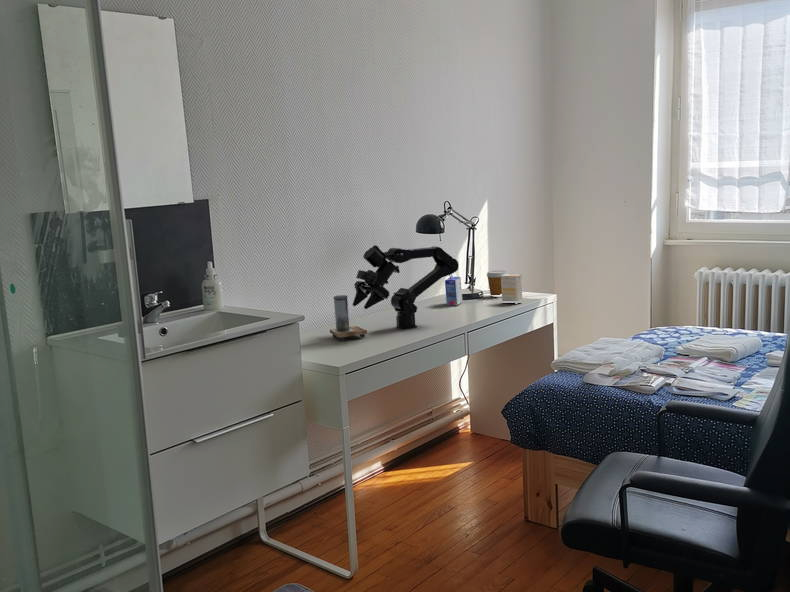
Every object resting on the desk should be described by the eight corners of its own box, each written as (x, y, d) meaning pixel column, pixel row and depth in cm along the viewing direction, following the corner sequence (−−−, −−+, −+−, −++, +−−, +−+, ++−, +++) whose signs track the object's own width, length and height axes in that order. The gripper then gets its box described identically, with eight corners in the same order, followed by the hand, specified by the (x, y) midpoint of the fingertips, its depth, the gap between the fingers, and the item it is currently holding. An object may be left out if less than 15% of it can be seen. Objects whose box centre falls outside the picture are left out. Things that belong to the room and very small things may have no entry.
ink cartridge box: (451, 302, 353) (449, 271, 351) (462, 302, 351) (461, 271, 349) (445, 306, 344) (444, 274, 342) (457, 306, 342) (456, 274, 340)
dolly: (357, 333, 294) (356, 325, 293) (367, 337, 284) (367, 330, 283) (330, 336, 290) (329, 329, 289) (339, 341, 280) (339, 334, 279)
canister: (343, 328, 290) (341, 294, 287) (352, 329, 286) (350, 295, 284) (333, 330, 286) (330, 296, 284) (342, 332, 282) (339, 298, 280)
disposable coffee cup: (507, 294, 366) (507, 270, 364) (507, 298, 357) (506, 272, 355) (488, 295, 368) (487, 270, 366) (486, 298, 359) (485, 273, 357)
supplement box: (522, 303, 340) (522, 274, 338) (517, 304, 337) (516, 275, 335) (507, 302, 346) (506, 273, 344) (501, 303, 342) (500, 274, 340)
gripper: (356, 260, 297) (333, 291, 293) (380, 263, 281) (356, 296, 277) (375, 277, 302) (353, 309, 298) (399, 281, 286) (376, 314, 282)
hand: (359, 307), depth 289 cm, fingers open, 9 cm apart
